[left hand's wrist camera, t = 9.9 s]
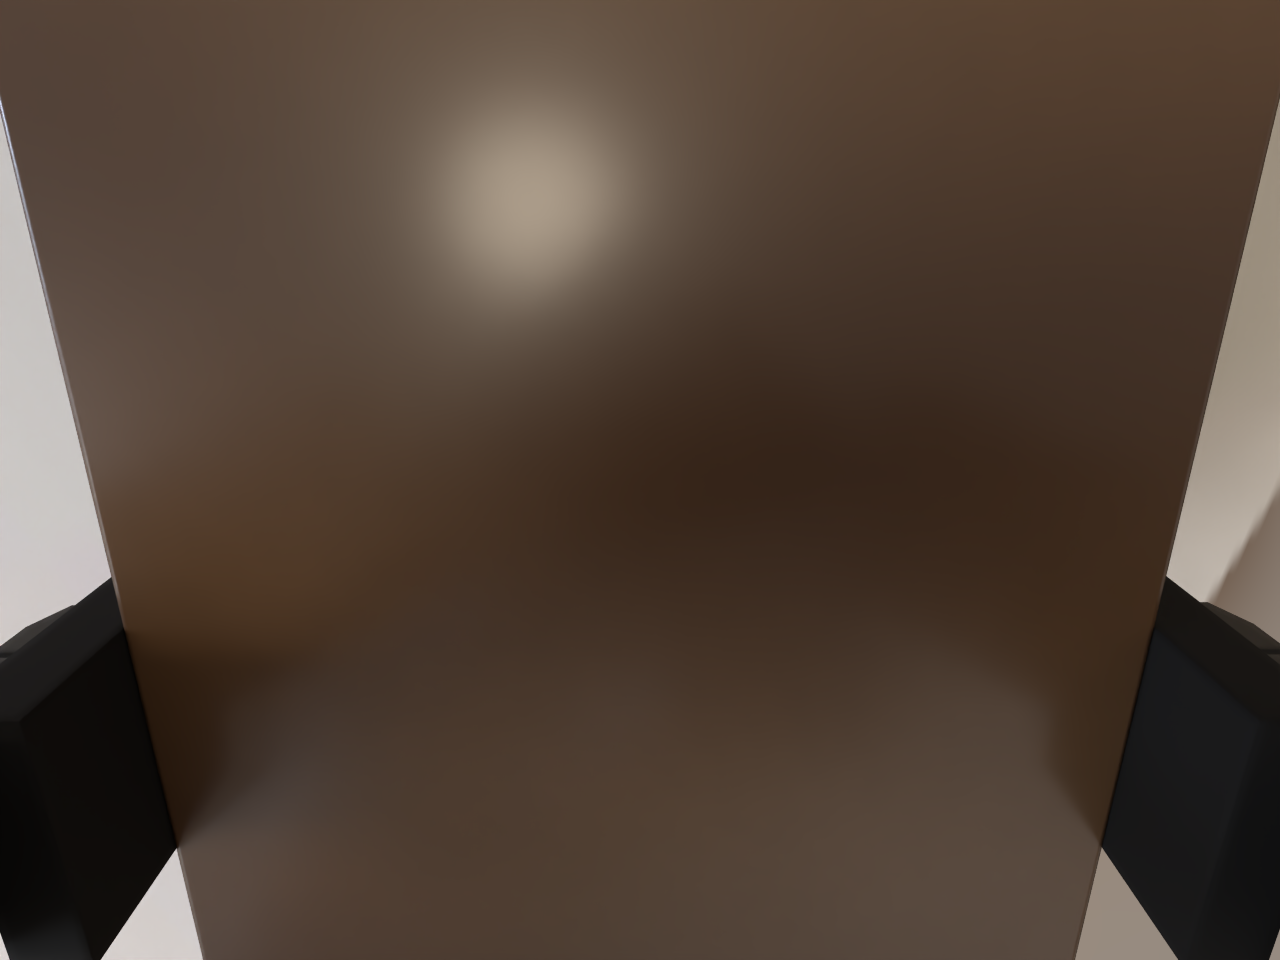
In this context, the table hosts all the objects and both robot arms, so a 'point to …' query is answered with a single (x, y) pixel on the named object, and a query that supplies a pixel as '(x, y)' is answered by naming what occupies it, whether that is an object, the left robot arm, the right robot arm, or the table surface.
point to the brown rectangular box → (638, 447)
